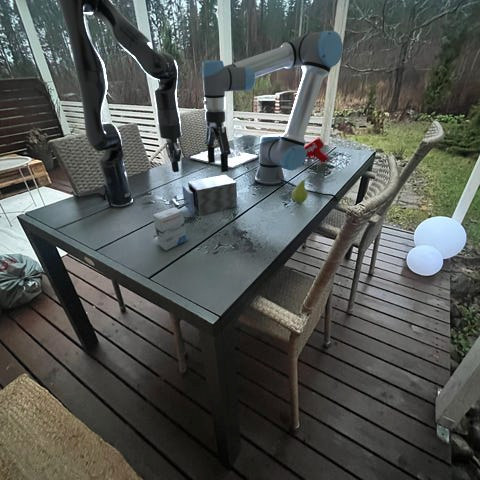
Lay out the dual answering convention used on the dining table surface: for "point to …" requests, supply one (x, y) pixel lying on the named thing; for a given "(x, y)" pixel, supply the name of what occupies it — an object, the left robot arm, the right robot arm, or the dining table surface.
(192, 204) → the drawer
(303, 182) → the fruit
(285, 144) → the right robot arm
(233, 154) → the relief map
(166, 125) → the left robot arm
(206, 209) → the white box dark end
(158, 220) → the ink box
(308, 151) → the toy gun
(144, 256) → the dining table surface
